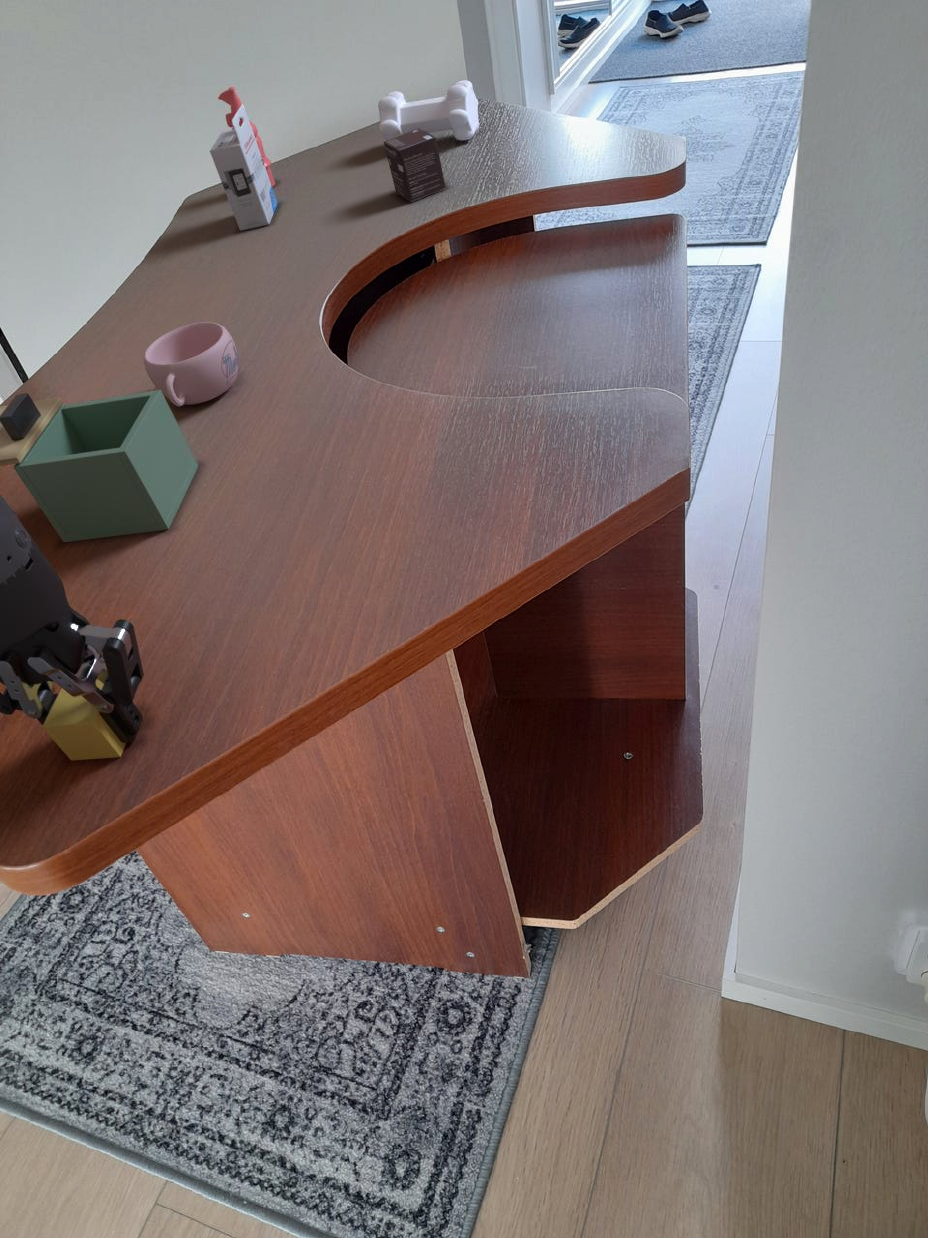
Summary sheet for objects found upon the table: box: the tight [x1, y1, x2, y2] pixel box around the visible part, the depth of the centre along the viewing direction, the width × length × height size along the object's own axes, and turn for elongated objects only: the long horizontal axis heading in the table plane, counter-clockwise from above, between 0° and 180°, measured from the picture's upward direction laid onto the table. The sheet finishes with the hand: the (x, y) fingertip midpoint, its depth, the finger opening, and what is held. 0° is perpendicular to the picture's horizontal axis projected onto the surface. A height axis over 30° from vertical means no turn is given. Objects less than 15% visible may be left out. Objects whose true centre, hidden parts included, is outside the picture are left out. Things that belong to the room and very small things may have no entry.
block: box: [41, 679, 127, 761], centre depth 65 cm, size 4×4×4 cm
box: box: [383, 129, 447, 203], centre depth 130 cm, size 6×6×7 cm
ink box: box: [209, 103, 278, 231], centre depth 134 cm, size 9×5×15 cm, turn 179°
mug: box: [143, 321, 239, 407], centre depth 99 cm, size 12×10×6 cm
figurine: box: [217, 86, 276, 188], centre depth 145 cm, size 5×5×15 cm
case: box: [13, 389, 199, 543], centre depth 85 cm, size 10×11×9 cm
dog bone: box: [377, 79, 480, 141], centre depth 145 cm, size 15×9×8 cm, turn 76°
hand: (104, 734), depth 66 cm, fingers closed on block, 4 cm apart
